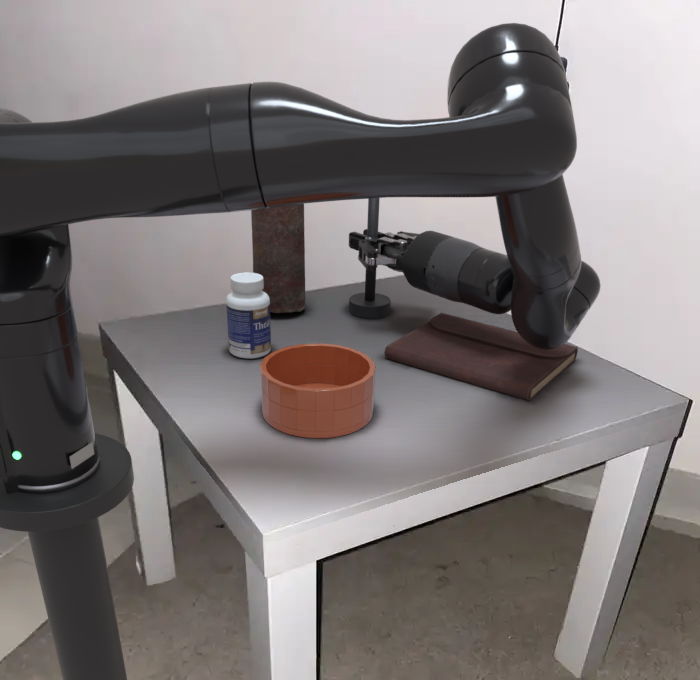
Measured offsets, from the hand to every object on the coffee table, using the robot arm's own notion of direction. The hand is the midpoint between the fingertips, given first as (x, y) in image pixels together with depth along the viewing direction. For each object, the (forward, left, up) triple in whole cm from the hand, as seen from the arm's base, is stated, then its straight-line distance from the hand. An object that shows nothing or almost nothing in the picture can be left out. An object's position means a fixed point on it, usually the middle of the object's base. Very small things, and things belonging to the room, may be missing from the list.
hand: (358, 237), depth 109 cm
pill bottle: (-20, -10, -10) cm, 25 cm away
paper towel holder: (+1, -3, -10) cm, 10 cm away
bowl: (-19, -28, -10) cm, 36 cm away
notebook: (+6, -24, -10) cm, 27 cm away
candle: (-11, +2, -10) cm, 15 cm away
